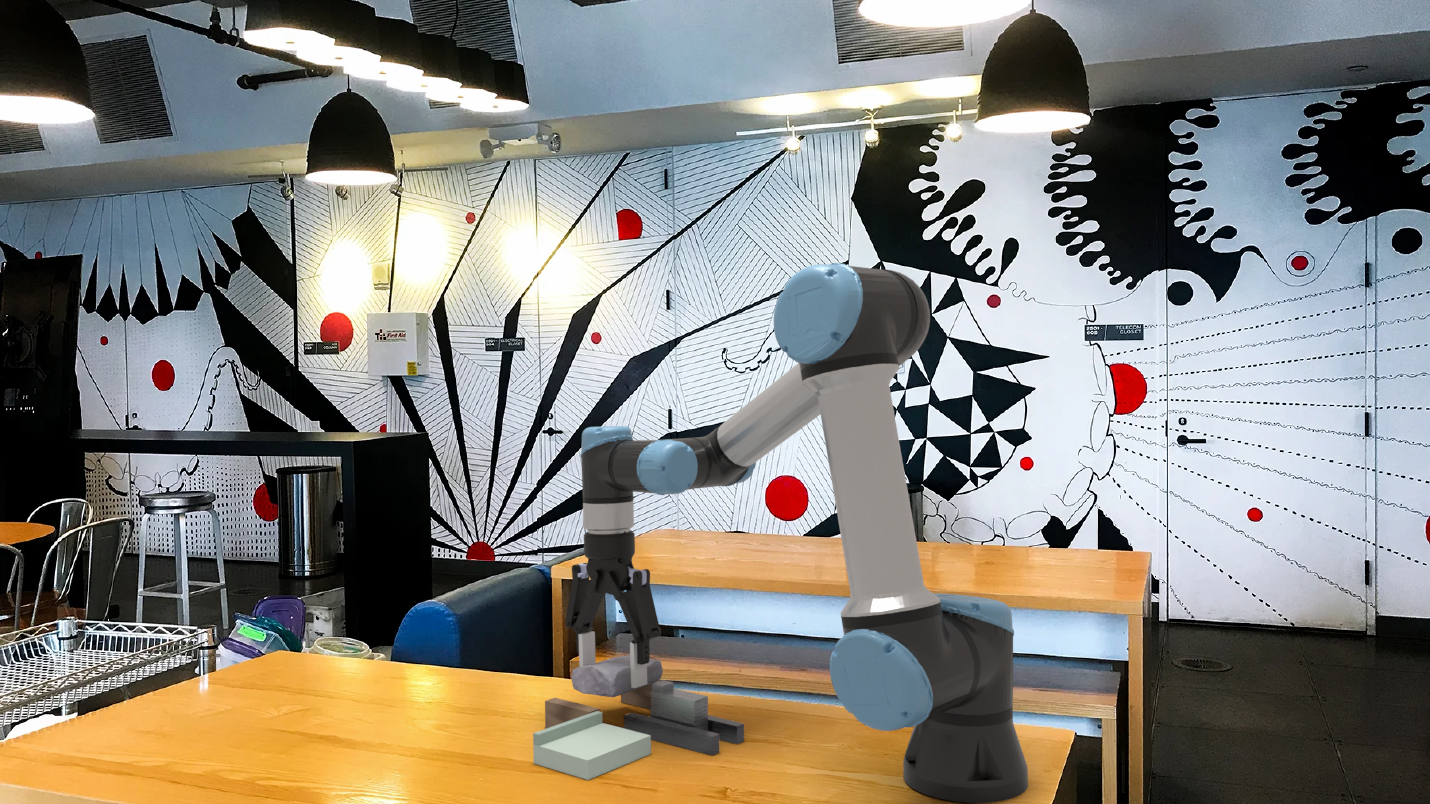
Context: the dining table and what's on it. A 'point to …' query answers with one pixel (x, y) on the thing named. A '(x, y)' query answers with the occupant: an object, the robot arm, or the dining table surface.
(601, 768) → the pale green ledge block
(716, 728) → the guide
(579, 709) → the brown piece
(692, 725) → the grey metal block
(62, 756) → the dining table surface
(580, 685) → the stone block
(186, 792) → the dining table surface
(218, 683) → the dining table surface
